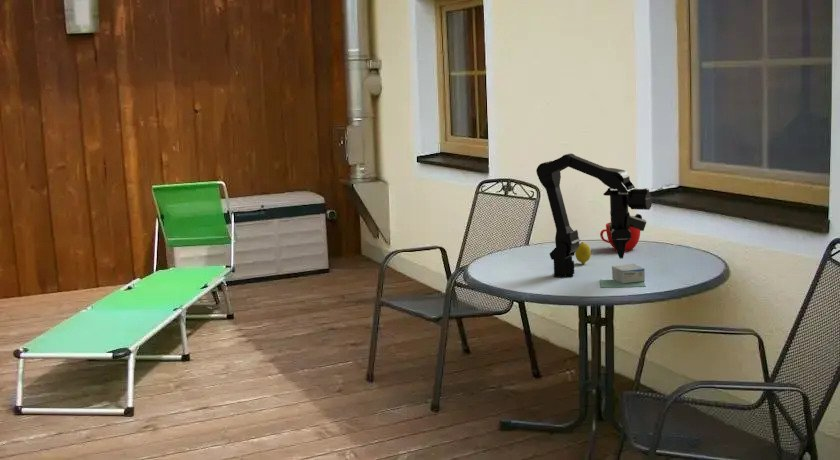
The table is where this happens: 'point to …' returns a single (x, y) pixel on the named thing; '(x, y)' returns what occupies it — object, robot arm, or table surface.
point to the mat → (620, 284)
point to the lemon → (583, 253)
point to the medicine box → (628, 273)
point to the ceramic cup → (630, 244)
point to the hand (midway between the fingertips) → (620, 255)
